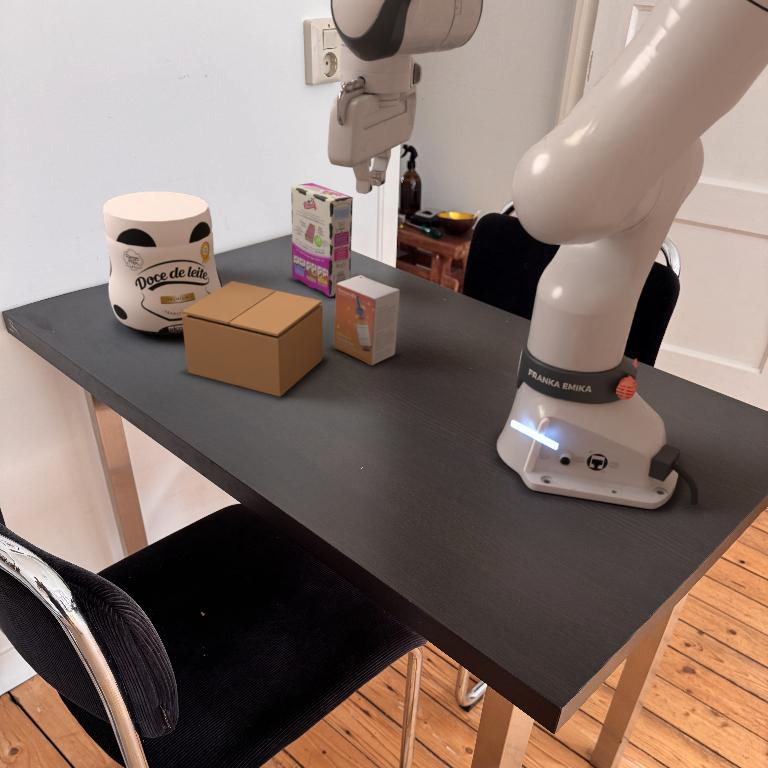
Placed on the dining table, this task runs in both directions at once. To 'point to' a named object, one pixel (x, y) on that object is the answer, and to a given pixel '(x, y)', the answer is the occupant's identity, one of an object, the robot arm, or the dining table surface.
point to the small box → (366, 319)
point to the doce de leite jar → (158, 258)
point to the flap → (276, 313)
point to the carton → (248, 342)
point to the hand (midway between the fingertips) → (370, 188)
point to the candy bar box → (321, 237)
